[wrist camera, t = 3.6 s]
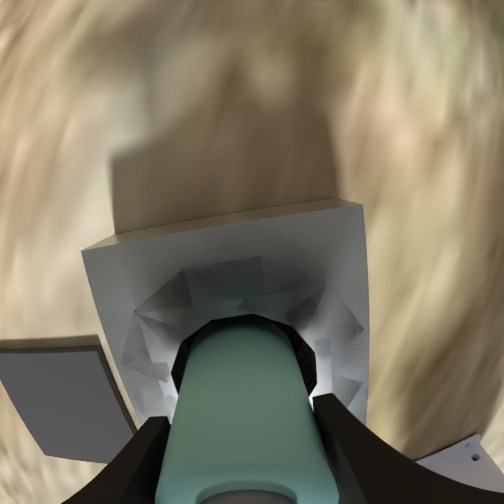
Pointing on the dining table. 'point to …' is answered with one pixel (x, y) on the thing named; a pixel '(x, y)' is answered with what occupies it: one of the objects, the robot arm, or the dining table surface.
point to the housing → (237, 295)
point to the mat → (68, 401)
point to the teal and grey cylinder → (244, 423)
